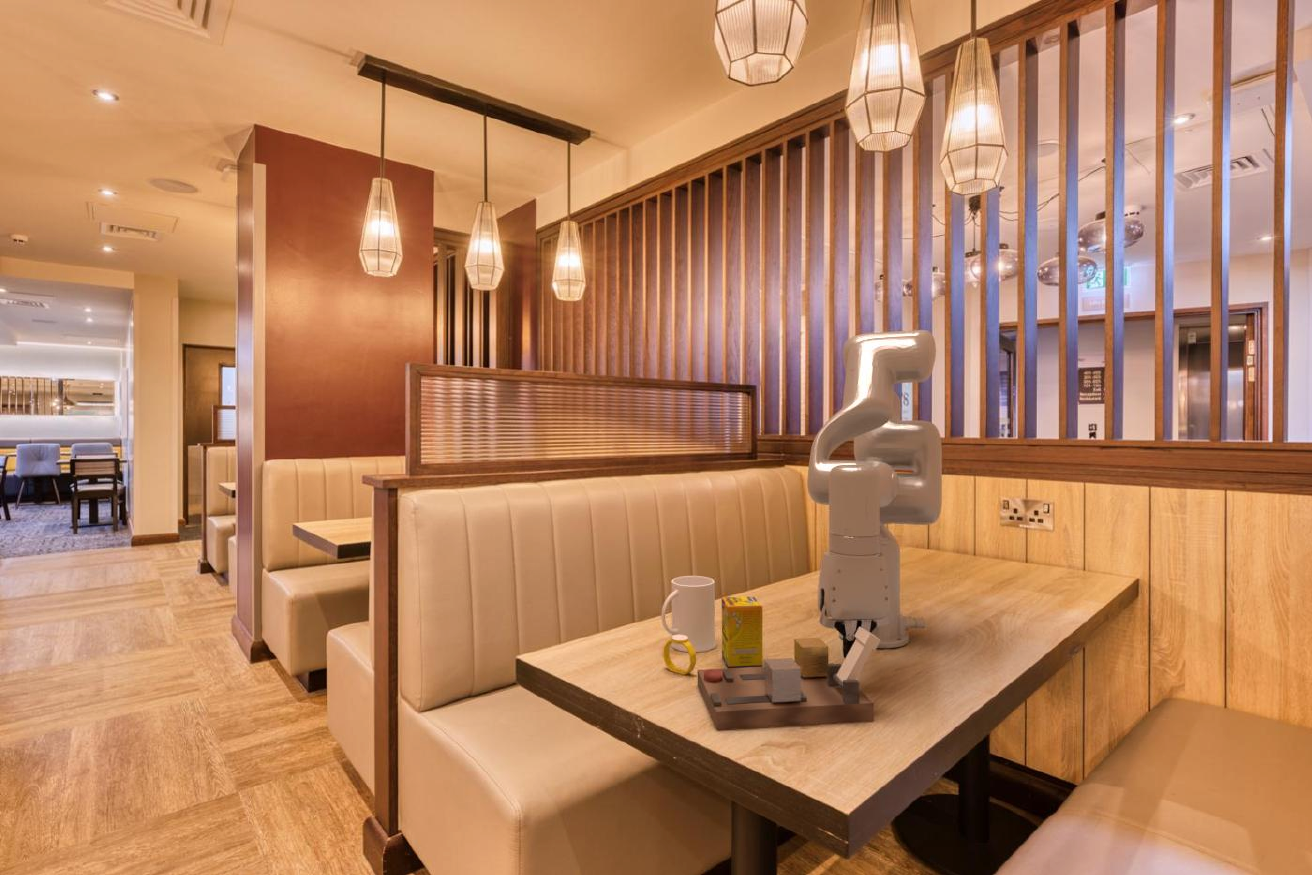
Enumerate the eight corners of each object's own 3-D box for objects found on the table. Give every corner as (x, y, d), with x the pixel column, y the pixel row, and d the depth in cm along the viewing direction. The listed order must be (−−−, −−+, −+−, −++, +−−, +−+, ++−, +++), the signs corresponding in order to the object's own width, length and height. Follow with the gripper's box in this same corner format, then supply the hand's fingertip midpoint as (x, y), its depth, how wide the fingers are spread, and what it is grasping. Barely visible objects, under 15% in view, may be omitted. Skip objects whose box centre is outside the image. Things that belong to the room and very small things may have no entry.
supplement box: (721, 658, 114) (720, 596, 114) (754, 657, 115) (754, 595, 114) (727, 671, 108) (727, 606, 108) (763, 670, 109) (762, 604, 109)
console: (832, 678, 105) (832, 644, 105) (873, 720, 90) (873, 681, 90) (697, 685, 103) (697, 650, 102) (716, 730, 88) (716, 689, 88)
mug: (674, 660, 114) (673, 591, 113) (647, 646, 121) (646, 581, 121) (725, 646, 120) (725, 581, 120) (697, 634, 127) (697, 573, 127)
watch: (698, 675, 108) (700, 640, 107) (688, 680, 106) (690, 644, 105) (669, 664, 111) (671, 630, 111) (659, 669, 109) (661, 634, 109)
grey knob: (791, 689, 94) (791, 657, 94) (800, 700, 90) (800, 668, 90) (764, 690, 93) (764, 659, 93) (772, 702, 89) (772, 669, 89)
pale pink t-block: (839, 683, 95) (868, 631, 96) (852, 696, 91) (882, 641, 91) (829, 677, 95) (858, 625, 95) (841, 690, 91) (871, 635, 91)
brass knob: (819, 666, 103) (819, 637, 102) (828, 675, 99) (828, 646, 98) (794, 667, 102) (794, 638, 102) (802, 677, 98) (802, 647, 98)
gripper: (889, 539, 105) (889, 652, 106) (799, 541, 104) (799, 656, 104) (912, 548, 98) (912, 669, 98) (815, 551, 96) (815, 674, 97)
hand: (854, 662), depth 101 cm, fingers closed
